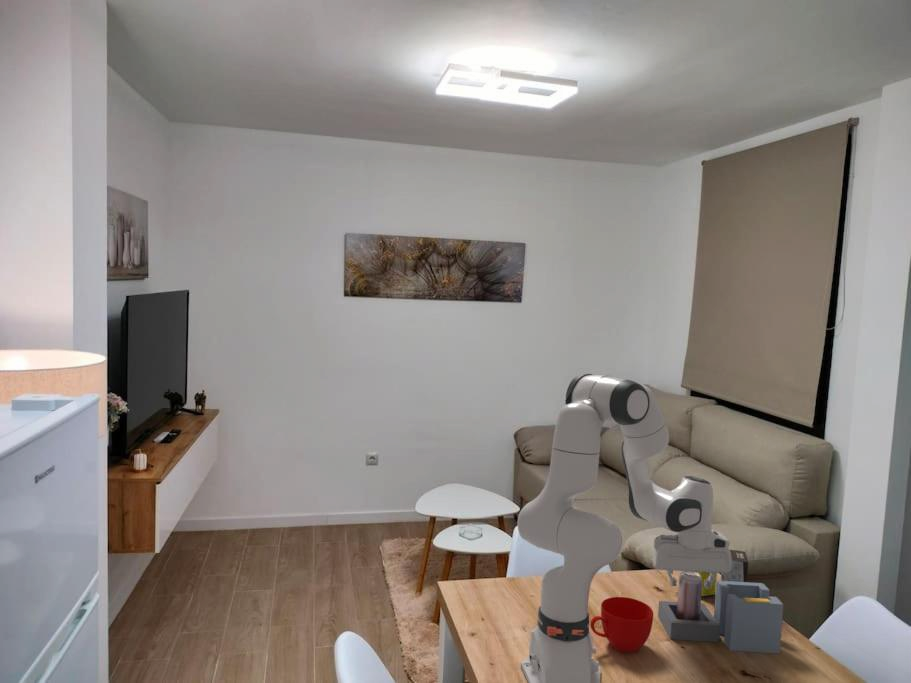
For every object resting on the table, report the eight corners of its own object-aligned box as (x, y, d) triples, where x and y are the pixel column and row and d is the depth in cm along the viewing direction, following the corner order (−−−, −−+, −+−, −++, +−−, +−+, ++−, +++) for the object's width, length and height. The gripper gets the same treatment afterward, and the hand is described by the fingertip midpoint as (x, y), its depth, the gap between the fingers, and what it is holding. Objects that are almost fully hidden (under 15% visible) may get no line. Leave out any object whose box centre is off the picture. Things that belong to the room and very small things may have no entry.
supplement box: (686, 590, 206) (688, 555, 205) (702, 588, 207) (705, 554, 207) (698, 599, 200) (701, 563, 199) (715, 597, 202) (717, 562, 201)
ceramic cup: (576, 639, 173) (578, 602, 172) (630, 630, 179) (633, 594, 178) (604, 665, 161) (606, 625, 160) (661, 655, 167) (664, 616, 166)
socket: (779, 653, 170) (783, 602, 169) (729, 650, 171) (733, 599, 170) (759, 629, 183) (763, 581, 182) (713, 626, 183) (716, 579, 182)
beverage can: (680, 621, 185) (683, 568, 184) (701, 628, 182) (705, 575, 180) (672, 629, 181) (675, 575, 180) (694, 636, 177) (697, 581, 176)
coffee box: (744, 617, 189) (748, 562, 188) (720, 613, 191) (724, 558, 190) (742, 604, 198) (746, 551, 197) (718, 600, 200) (722, 547, 199)
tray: (718, 642, 175) (719, 625, 174) (670, 639, 175) (671, 622, 175) (702, 619, 187) (704, 603, 187) (657, 616, 188) (658, 600, 187)
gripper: (657, 538, 177) (654, 589, 178) (735, 542, 176) (732, 593, 177) (651, 530, 183) (648, 578, 184) (727, 533, 182) (723, 582, 183)
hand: (690, 585), depth 180 cm, fingers open, 8 cm apart
